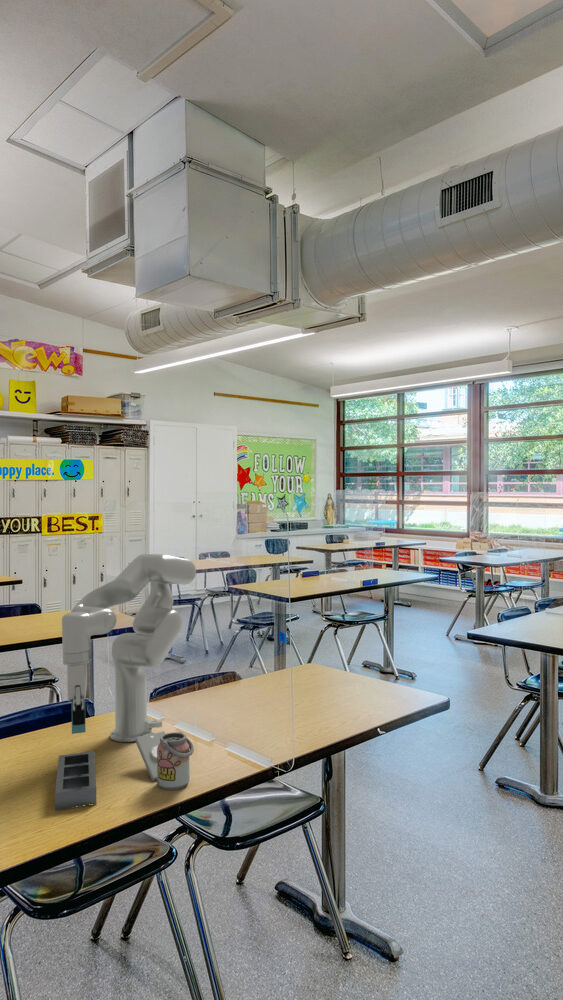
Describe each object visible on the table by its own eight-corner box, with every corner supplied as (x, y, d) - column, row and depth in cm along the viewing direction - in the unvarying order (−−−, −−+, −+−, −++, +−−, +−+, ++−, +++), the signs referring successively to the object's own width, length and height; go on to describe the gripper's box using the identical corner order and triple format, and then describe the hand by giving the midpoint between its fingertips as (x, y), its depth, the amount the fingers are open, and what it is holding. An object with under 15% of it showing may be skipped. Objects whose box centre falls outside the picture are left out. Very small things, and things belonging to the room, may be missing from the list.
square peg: (85, 727, 178) (85, 696, 178) (85, 732, 175) (85, 700, 175) (72, 729, 177) (71, 697, 177) (71, 733, 174) (71, 701, 173)
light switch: (153, 776, 160) (136, 734, 171) (149, 792, 163) (132, 750, 173) (184, 768, 165) (165, 728, 176) (180, 784, 167) (161, 744, 178)
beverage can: (199, 780, 161) (199, 733, 162) (181, 794, 154) (181, 745, 154) (169, 775, 165) (169, 729, 165) (150, 788, 157) (150, 740, 158)
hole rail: (94, 765, 171) (94, 751, 172) (96, 804, 149) (96, 787, 149) (58, 770, 169) (58, 755, 169) (55, 810, 146) (55, 793, 146)
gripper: (63, 651, 182) (65, 713, 183) (62, 665, 167) (64, 734, 167) (90, 648, 185) (92, 710, 185) (91, 662, 169) (93, 730, 169)
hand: (78, 721), depth 176 cm, fingers closed on square peg, 3 cm apart
